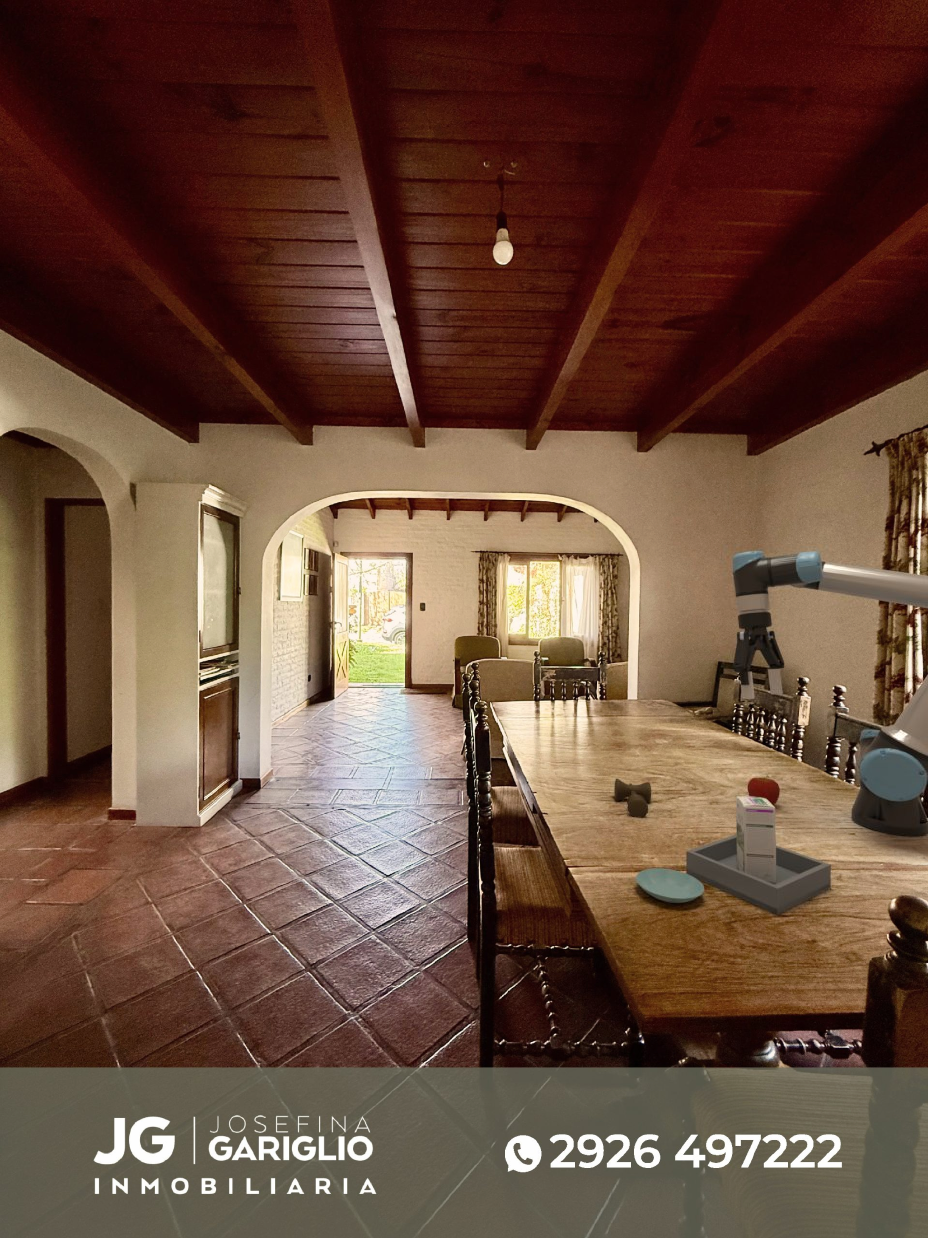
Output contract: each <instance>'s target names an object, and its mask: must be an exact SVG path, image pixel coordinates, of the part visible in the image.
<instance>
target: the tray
mask: <svg viewBox="0 0 928 1238" xmlns="http://www.w3.org/2000/svg"><path fill="white" fill-rule="evenodd" d="M685 855H686V857H685V858H686V862H685V864H686V865H685V866H686V871H685V872H686V873H685V874H688V875H690V876H692V877H694V878H696V879H697V880H699V881H700V882H704V883H705V884H708V885H710V886H712V887H714V888H717V889H719V890H721V891H724V892H726V893H727V894H730V895H732V896H734V897H737V898H738V899H741V900H743V901H745V902H748V903H750V904H751V905H755V906H757V907H758V908H761V909H763V910H765V911H767V912H770V913H772V914H774V915H776V916H778V915H780V914H782V913H784V912H787V911H789V910H791V909H793V908H795V907H797V906H799V905H801V904H803V903H804V902H806V901H809V900H811V899H813V898H815V897H817V896H818V895H820V894H822V893H825V892H826V891H829V890H831V888H832V887H831V886H832V885H831V884H832V883H831V882H832V881H831V879H832V872H831V871H832V865H831V864H830V863H828V862H824V861H822V860H819V859H816V858H813V857H810V856H808V855H805V854H801V853H798V852H795V851H794V850H791V849H787V848H784V847H781V846H779V845H776V883H769V882H767V881H764V880H762V879H759V878H757V877H754V876H752V875H749V874H747V873H745V872H742V871H740V870H738V869H737V833H736V834H733V835H731V836H730V835H729V836H727V837H725V838H721V839H719V840H716V841H713V842H709V843H706V844H703V845H701V846H698V847H695V848H694V847H693V848H691V849H689V850H686V853H685Z"/></svg>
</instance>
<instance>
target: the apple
mask: <svg viewBox="0 0 928 1238" xmlns="http://www.w3.org/2000/svg"><path fill="white" fill-rule="evenodd" d="M780 791H781V790H780V786H779V783H778V782H777V781H775V780H774V779H771V778H768V777H765V776H764V777H752V778H751V779H749V781H748V783H747V792H748V796H753V797H762V798H766V799H767V800H768V801H769V802H770V803H771V804H772V805H773V806H774V805H776V804H777V802H778V800H779V798H780V796H781V795H780V793H781V792H780Z"/></svg>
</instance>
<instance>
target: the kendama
mask: <svg viewBox="0 0 928 1238" xmlns="http://www.w3.org/2000/svg"><path fill="white" fill-rule="evenodd" d="M613 790H614V800H615V801H616V802H619V801H621V800H623V799H625V798H627V800H626V801H627V802H626V803H627V806H626V807H627V812H628V814H629V815H630V816H631V817H633V818H644V817H646V816H647V814H648V812H649V805H648V804H649V803H650V802H652V801H651V800H652V786H651V783H650V782H649V781H646V782H643V783H641V784H632V783H629V784H628V783H626V782H624V781H622V780H620V779H619V778H615V780H614V789H613ZM646 802H647V803H646Z"/></svg>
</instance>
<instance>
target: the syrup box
mask: <svg viewBox="0 0 928 1238" xmlns="http://www.w3.org/2000/svg"><path fill="white" fill-rule="evenodd" d="M735 800H736V804H735V805H736V808H735V809H736V810H735V811H736V834H737V869H738V870H740V871H742V872H745V873H747V874H749V875H752V876H754V877H757V878H759V879H762V880H764V881H767V882H769V883H776V846H777V838H776V837H777V833H776V832H777V831H776V807H775V806H774V805H772V804H771V803H770V802H769V801H768V800H767V799H766V798H762V797H753V796H749V795H748V796H747V795H746V796H745V795H744V796H743V795H742V796H736V799H735Z"/></svg>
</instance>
